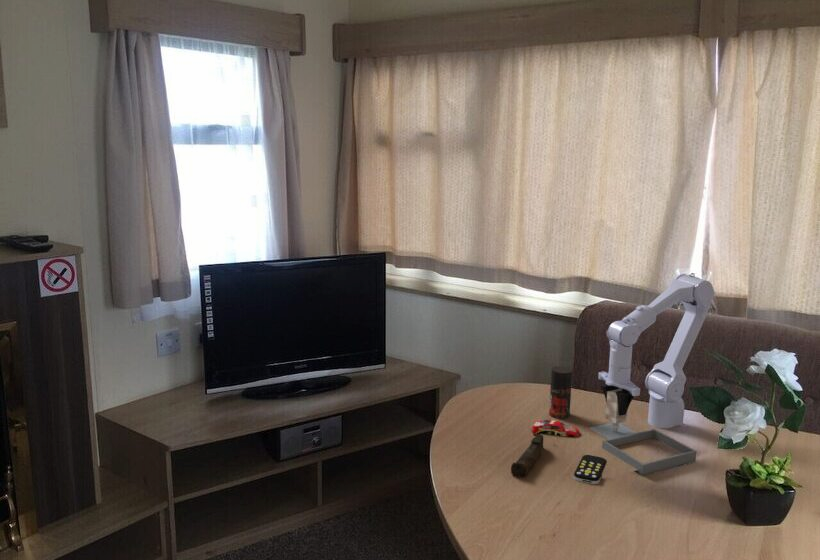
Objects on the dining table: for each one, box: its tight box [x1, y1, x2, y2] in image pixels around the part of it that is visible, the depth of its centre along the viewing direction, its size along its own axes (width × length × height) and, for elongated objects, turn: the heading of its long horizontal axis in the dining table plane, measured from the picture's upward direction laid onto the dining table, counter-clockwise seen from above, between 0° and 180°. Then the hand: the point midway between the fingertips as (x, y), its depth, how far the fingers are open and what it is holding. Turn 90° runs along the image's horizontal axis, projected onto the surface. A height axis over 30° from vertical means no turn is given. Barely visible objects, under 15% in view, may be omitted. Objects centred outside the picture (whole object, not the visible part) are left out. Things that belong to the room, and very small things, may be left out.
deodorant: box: [548, 365, 573, 420], centre depth 214 cm, size 6×6×15 cm
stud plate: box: [589, 422, 637, 440], centre depth 204 cm, size 10×10×4 cm
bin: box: [601, 428, 697, 477], centre depth 191 cm, size 18×15×3 cm
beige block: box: [605, 388, 628, 424], centre depth 202 cm, size 4×4×8 cm
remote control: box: [573, 454, 607, 485], centre depth 183 cm, size 6×13×2 cm, turn 155°
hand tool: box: [510, 434, 544, 479], centre depth 188 cm, size 19×4×5 cm, turn 150°
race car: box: [531, 419, 581, 438], centre depth 204 cm, size 13×5×4 cm, turn 74°
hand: (616, 411), depth 203 cm, fingers closed on beige block, 4 cm apart
